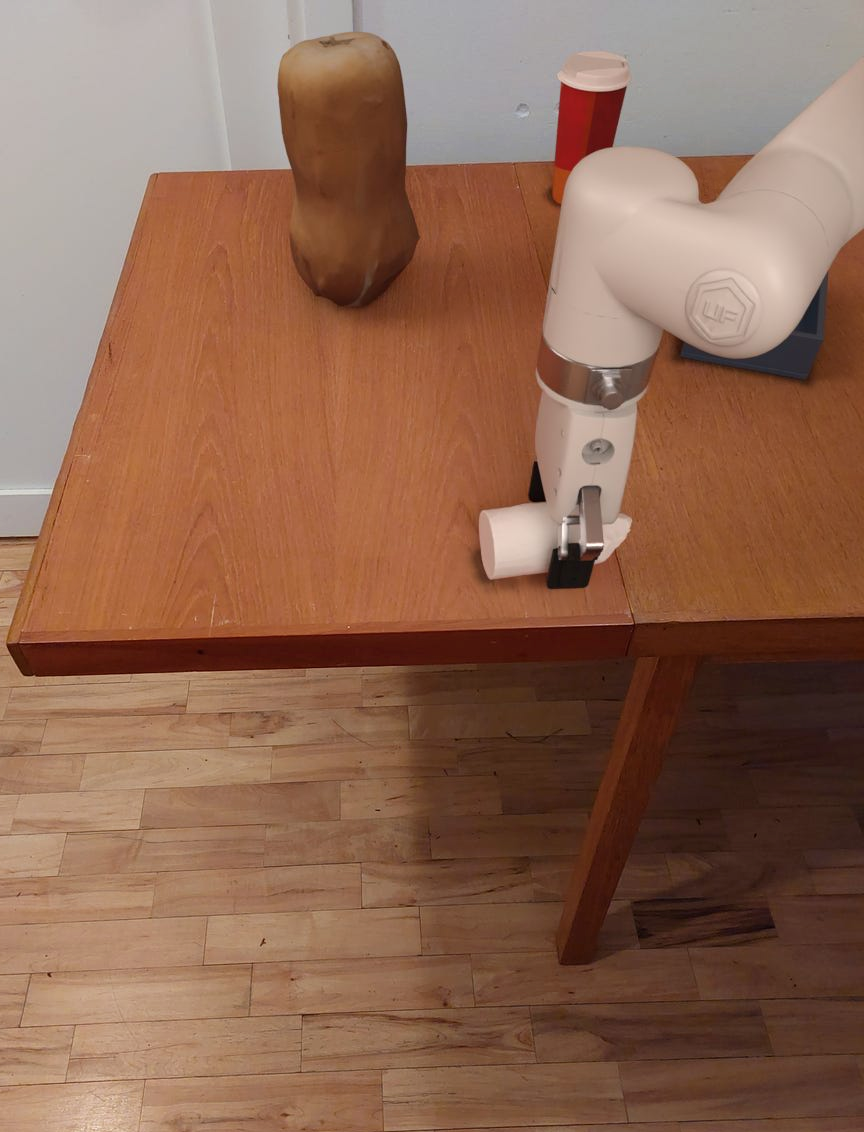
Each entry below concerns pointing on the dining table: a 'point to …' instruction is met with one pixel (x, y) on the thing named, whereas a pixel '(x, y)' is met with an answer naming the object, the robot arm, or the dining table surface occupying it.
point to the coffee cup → (587, 109)
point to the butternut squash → (347, 165)
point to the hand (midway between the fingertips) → (556, 540)
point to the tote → (782, 345)
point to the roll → (533, 539)
